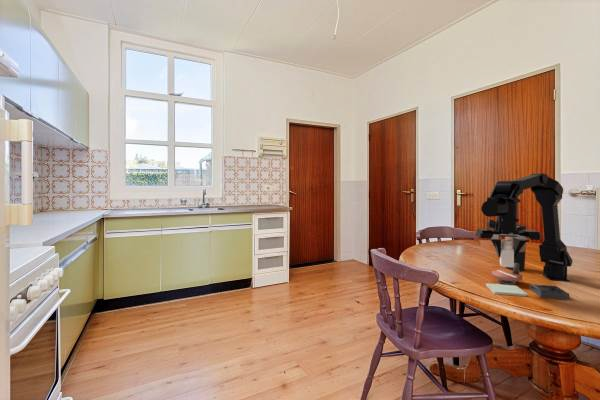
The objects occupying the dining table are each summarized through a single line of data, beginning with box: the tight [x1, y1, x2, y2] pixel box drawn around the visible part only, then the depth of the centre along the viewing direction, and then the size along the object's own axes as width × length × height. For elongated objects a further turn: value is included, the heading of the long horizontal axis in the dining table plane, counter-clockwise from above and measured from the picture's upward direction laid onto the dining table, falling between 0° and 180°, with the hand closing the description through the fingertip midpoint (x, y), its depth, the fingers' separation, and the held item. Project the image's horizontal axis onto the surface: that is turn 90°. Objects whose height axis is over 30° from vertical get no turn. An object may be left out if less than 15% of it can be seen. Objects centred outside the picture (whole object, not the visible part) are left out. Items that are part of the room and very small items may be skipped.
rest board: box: [485, 283, 528, 297], centre depth 107 cm, size 10×9×1 cm
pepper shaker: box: [499, 239, 514, 268], centre depth 106 cm, size 4×4×10 cm
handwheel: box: [491, 263, 523, 282], centre depth 116 cm, size 10×10×5 cm
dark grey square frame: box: [529, 283, 570, 300], centre depth 103 cm, size 8×8×2 cm
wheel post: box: [496, 278, 517, 286], centre depth 116 cm, size 6×6×2 cm
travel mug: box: [504, 224, 527, 272], centre depth 133 cm, size 8×8×20 cm
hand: (506, 257), depth 106 cm, fingers closed on pepper shaker, 4 cm apart
